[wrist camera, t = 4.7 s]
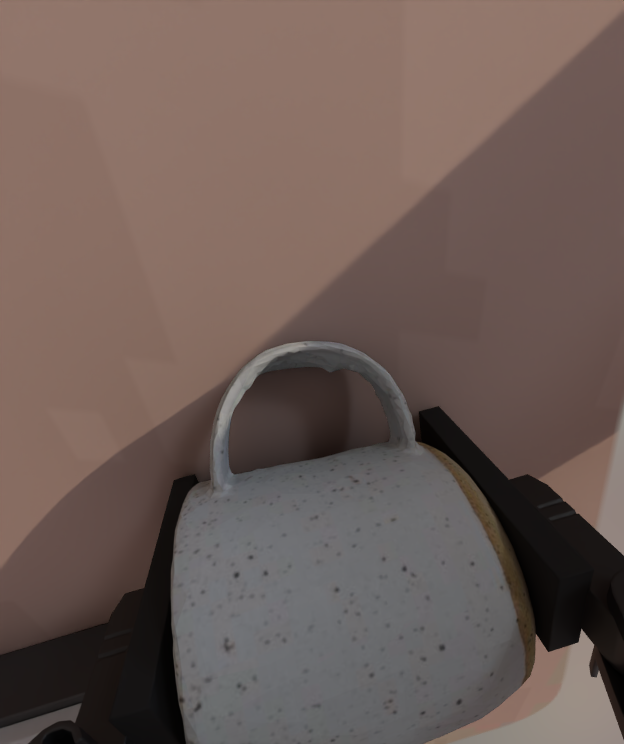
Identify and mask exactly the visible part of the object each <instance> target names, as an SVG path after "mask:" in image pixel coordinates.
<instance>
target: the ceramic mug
mask: <svg viewBox="0 0 624 744" xmlns="http://www.w3.org/2000/svg"><path fill="white" fill-rule="evenodd" d="M300 367H322V368H324V369H325V370H327V371H329V372H334V371H337V370H340V369H343V368H345V369H347V370H351V371H355V372H358V373H359V374H361V375H362V376H363V377H364V378H365V379H366V380H367V381H368V382H369V383H370V384H371V385H372V387H373V388H374V390H375V393H376V395H377V397H378V398H379V399H380V401H381V404H382V407H383V410H384V412H385V415H386V417H387V421H388V425H389V429H390V439H389V441H388V442H384V443H378V444H375V445H371V446H367V447H362V448H356V449H351V450H348V451H344V452H341V453H337V454H334V455H330V456H326V457H323V458H318V459H312V460H305V461H299V462H295V463H288V464H282V465H277V466H273V467H269V468H264V469H256V470H253V471H250V472H244V473H241V474H236V475H235V474H233V473H232V472H231V470H230V467H229V456H228V442H229V430H230V423H231V418H232V414H233V411H234V408H235V407H236V406H237V404H238V403H239V402H240V400H241V398H242V396H243V395H244V393H245V391H246V390H247V389H249V388H250V387H251V385H252V384H253V382H254V380H255V379H256V378H257V376H258V375H260V374H263V373H266V372H269V371H275V370H282V369H288V368H300ZM415 433H416V432H415V429H414V426H413V421H412V414H411V413H410V411H409V409H408V406H407V403H406V400H405V397H404V395H403V394H402V392H401V391H400V389H399V388H398V386H397V385H396V383H395V381H394V380H393V378H392V377H391V376H390V374H389V373H388V372H387V371H386V370H385V369H384V368H383V367H382V366H381V365H379V364H378V363H377V362H375V361H374V360H373V359H371V358H370V357H369V356H367V355H366V354H365V353H363V352H361V351H359V350H356V349H354V348H352V347H349V346H347V345H344V344H341V343H335V342H328V341H327V342H322V341H304V342H297V343H289V344H284V345H281V346H278V347H275V348H272V349H268V350H265V351H264V352H263V353H261V354H259V355H257V356H256V357H255V358H253V359H252V360H251V361H250V362H249V363H247V364H246V365H245V366H244V367H243V368H242V369H240V370H239V372H238V373H237V375H236V376H235V378H234V379H233V380H232V382H231V383H230V385H229V386H228V388H227V389H226V391H225V393H224V395H223V397H222V399H221V401H220V404H219V407H218V409H217V412H216V416H215V419H214V422H213V428H212V434H211V440H210V475H211V480H208V481H205V482H201V483H198V484H196V485H195V486H194V487H193V488H192V489H191V490H190V491H189V492H188V494H187V496H186V498H185V500H184V503H183V506H182V509H181V512H180V515H179V519H178V522H177V525H176V529H175V537H174V549H173V561H172V567H171V613H172V622H171V626H172V634H173V659H174V668H175V677H176V686H177V693H178V702H179V706H180V710H181V714H182V719H183V725H184V733H185V740H186V744H423V743H426V742H428V741H431V740H433V739H436V738H438V737H441V736H443V735H446V734H448V733H450V732H452V731H454V730H457V729H459V728H461V727H463V726H466V725H468V724H470V723H472V722H474V721H477V720H479V719H481V718H483V717H484V716H485V715H487V714H488V713H490V712H491V711H492V710H494V709H495V708H497V707H498V706H499V705H501V704H502V703H503V702H504V701H505V700H506V699H507V698H508V697H509V696H511V695H512V694H513V693H514V692H515V691H516V690H517V689H518V688H520V687H521V685H522V684H523V683H524V682H525V681H526V680H527V679H528V678H529V677H530V675H531V671H532V668H533V665H534V661H535V638H536V626H535V618H534V613H533V609H532V605H531V600H530V596H529V592H528V588H527V584H526V581H525V578H524V575H523V572H522V570H521V567H520V564H519V562H518V559H517V557H516V554H515V552H514V549H513V546H512V544H511V542H510V540H509V538H508V536H507V534H506V532H505V530H504V528H503V526H502V524H501V522H500V520H499V519H498V517H497V515H496V514H495V512H494V510H493V509H492V507H491V505H490V503H489V502H488V500H487V498H486V497H485V496H484V494H483V493H482V492H481V490H480V489H479V488H478V486H477V485H476V484H475V483H474V481H473V480H472V479H471V477H470V476H469V475H468V474H467V473H466V472H465V471H464V470H463V469H462V468H461V467H460V466H459V465H458V464H457V463H456V462H454V461H453V460H452V459H451V458H450V457H448V456H447V455H446V454H445V453H443V452H441V451H439V450H437V449H436V448H433V447H431V446H429V445H426V444H424V443H421V442H416V441H415Z"/></svg>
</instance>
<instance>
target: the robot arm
mask: <svg viewBox="0 0 624 744" xmlns="http://www.w3.org/2000/svg"><path fill="white" fill-rule="evenodd" d="M419 417H420V428H421V438H422V443H424V444H426V445H429V446H431V447H433V448H436V449H437V450H439V451H441V452H443V453H445V454H446V455H447V456H448V457H450V458H451V459H452V460H453V461H454V462H456V463H457V464H458V465H459V466H460V467H461V468H462V469H463V470H464V471H465V472H466V473H467V474H468V475H469V476H470V477H471V479H472V480H473V481H474V483H475V484H476V485H477V486H478V488H479V489H480V490H481V492H482V493H483V494H484V496H485V497H486V498H487V500H488V502H489V503H490V505H491V507H492V509H493V510H494V512H495V514H496V515H497V517H498V519H499V520H500V522H501V524H502V526H503V528H504V530H505V532H506V534H507V536H508V538H509V540H510V542H511V544H512V546H513V549H514V552H515V554H516V557H517V559H518V562H519V564H520V567H521V570H522V572H523V575H524V578H525V581H526V584H527V588H528V592H529V596H530V600H531V605H532V609H533V613H534V618H535V626H536V634H537V636H538V637H539V639H540V640H541V642H542V643H543V645H544V646H545V648H546V649H547V651H548V652H550V651H553V650H556V649H559V648H562V647H565V646H568V645H572V644H575V643H578V642H579V637H580V632H581V628H582V630H583V631H584V632H585V633H586V635H587V636H588V637H589V639H590V640H591V641H592V642H593V644H594V649H593V653H592V656H591V660H590V665H589V666H590V674H591V677H597V674H598V671H600V674H601V677H602V680H603V682H604V685H605V688H606V691H607V694H608V697H609V699H610V702H611V705H612V708H613V711H614V713H615V716H616V719H617V722H618V725H619V728H620V730H621V733H622V736H623V739H624V556H623V555H622V554H621V553H620V552H619V551H618V550H617V549H616V548H615V547H614V546H613V545H611V544H610V543H609V542H608V541H607V540H606V539H605V538H604V537H603V536H602V535H601V534H600V533H599V532H598V531H596V530H595V529H594V528H593V527H592V526H591V525H590V524H589V523H588V522H587V521H586V520H585V519H584V518H582V517H581V516H580V515H579V514H576V512H575V510H574V509H573V508H572V507H571V506H570V505H568V504H567V503H566V502H564V501H563V500H562V498H561V497H560V496H559V495H558V494H557V493H556V492H554V491H553V490H552V489H551V488H550V487H549V486H548V485H547V484H545V483H543V482H541V481H539V480H537V479H535V478H533V477H532V476H530V475H528V474H527V475H524V476H520V477H517V478H514V479H510V480H509V479H508V478H507V477H506V476H505V475H504V474H503V473H502V472H501V471H500V470H499V469H498V468H497V467H496V466H495V465H494V464H493V463H492V462H491V461H490V459H489V458H488V457H487V456H486V455H485V454H484V453H483V452H482V451H481V450H480V449H479V448H478V447H477V446H476V445H475V444H474V443H473V442H472V441H471V440H470V439H469V437H468V436H467V435H466V434H465V433H464V432H463V431H462V430H461V429H460V428H459V427H458V426H457V425H456V424H455V423H454V422H453V421H452V420H451V419H450V418H449V417H448V416H447V414H446V413H445V412H444V411H443V410H442V409H441V408H440V407H439V406H438V407H434V408H431V409H427V410H423V411H420V412H419ZM198 483H199V482H198V479H197V477H196V475H195V474H194V475H190V476H187V477H183V478H180V479H176V480H174V482H173V485H172V489H171V493H170V496H169V500H168V504H167V507H166V511H165V514H164V518H163V522H162V525H161V529H160V533H159V536H158V540H157V544H156V547H155V551H154V555H153V558H152V562H151V566H150V569H149V573H148V577H147V580H146V584H145V588H143V589H139V590H136V591H133V592H129V593H126V594H125V595H124V596H123V598H122V599H121V601H120V602H119V604H118V605H117V607H116V608H115V610H114V612H113V613H112V615H111V617H110V620H109V623H108V626H107V629H106V632H105V635H104V641H103V642H102V644H101V647H100V650H99V653H98V660H97V661H96V662H95V665H94V668H93V671H92V674H91V677H90V680H89V683H88V686H87V689H86V692H85V695H84V698H83V701H82V704H81V707H80V710H79V713H78V716H77V718H76V721H75V723H74V722H73V721H71V720H66V721H58V722H56V723H54V724H52V725H51V726H49V727H47V728H45V729H43V730H42V731H41V732H40V733H39V734H38V735H37V736H36V737H35V738H34V739H32V740H31V741H30V742H29V743H28V744H186V740H185V733H184V725H183V719H182V714H181V710H180V706H179V702H178V693H177V686H176V677H175V668H174V659H173V634H172V626H171V622H172V613H171V567H172V561H173V549H174V537H175V529H176V525H177V522H178V519H179V515H180V512H181V509H182V506H183V503H184V500H185V498H186V496H187V494H188V492H189V491H190V490H191V489H192V488H193V487H194V486H195V485H196V484H198Z"/></svg>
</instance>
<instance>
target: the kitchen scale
mask: <svg viewBox="0 0 624 744" xmlns="http://www.w3.org/2000/svg"><path fill="white" fill-rule="evenodd" d="M107 626H108V623H107V624H104V625H101V626H97V627H94V628H91V629H87V630H84V631H81V632H77V633H74V634H71V635H67V636H64V637H61V638H58V639H54V640H51V641H48V642H44V643H41V644H38V645H34V646H31V647H28V648H24V649H21V650H18V651H15V652H11V653H8V654H5V655H1V656H0V744H28V743H29V742H30V741H31V740H32V739H34V738H35V737H36V736H37V735H38V734H39V733H40V732H41V731H42V730H43V729H45V728H47V727H49V726H51V725H52V724H54V723H56V722H58V721H66V720H71V721H73V722H74V723H75V721H76V718H77V716H78V713H79V710H80V707H81V704H82V701H83V698H84V695H85V692H86V689H87V686H88V683H89V680H90V677H91V674H92V671H93V668H94V665H95V662H96V661H97V660H98V653H99V650H100V647H101V644H102V642H103V641H104V635H105V632H106V629H107Z"/></svg>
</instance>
